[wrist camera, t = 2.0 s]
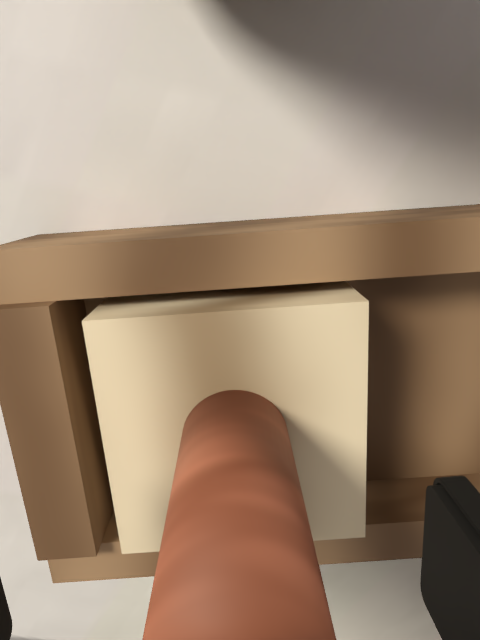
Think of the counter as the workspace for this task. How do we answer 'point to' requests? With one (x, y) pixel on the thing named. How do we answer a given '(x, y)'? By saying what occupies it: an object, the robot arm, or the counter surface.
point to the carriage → (234, 449)
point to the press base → (243, 272)
